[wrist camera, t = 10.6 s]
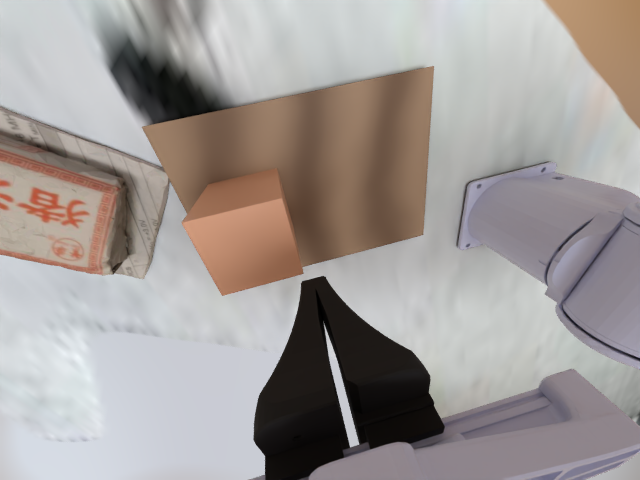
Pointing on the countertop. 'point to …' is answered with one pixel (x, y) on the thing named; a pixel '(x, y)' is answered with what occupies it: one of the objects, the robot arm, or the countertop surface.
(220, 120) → the board
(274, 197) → the orange rectangular block
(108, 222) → the packaged product
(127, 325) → the countertop surface
